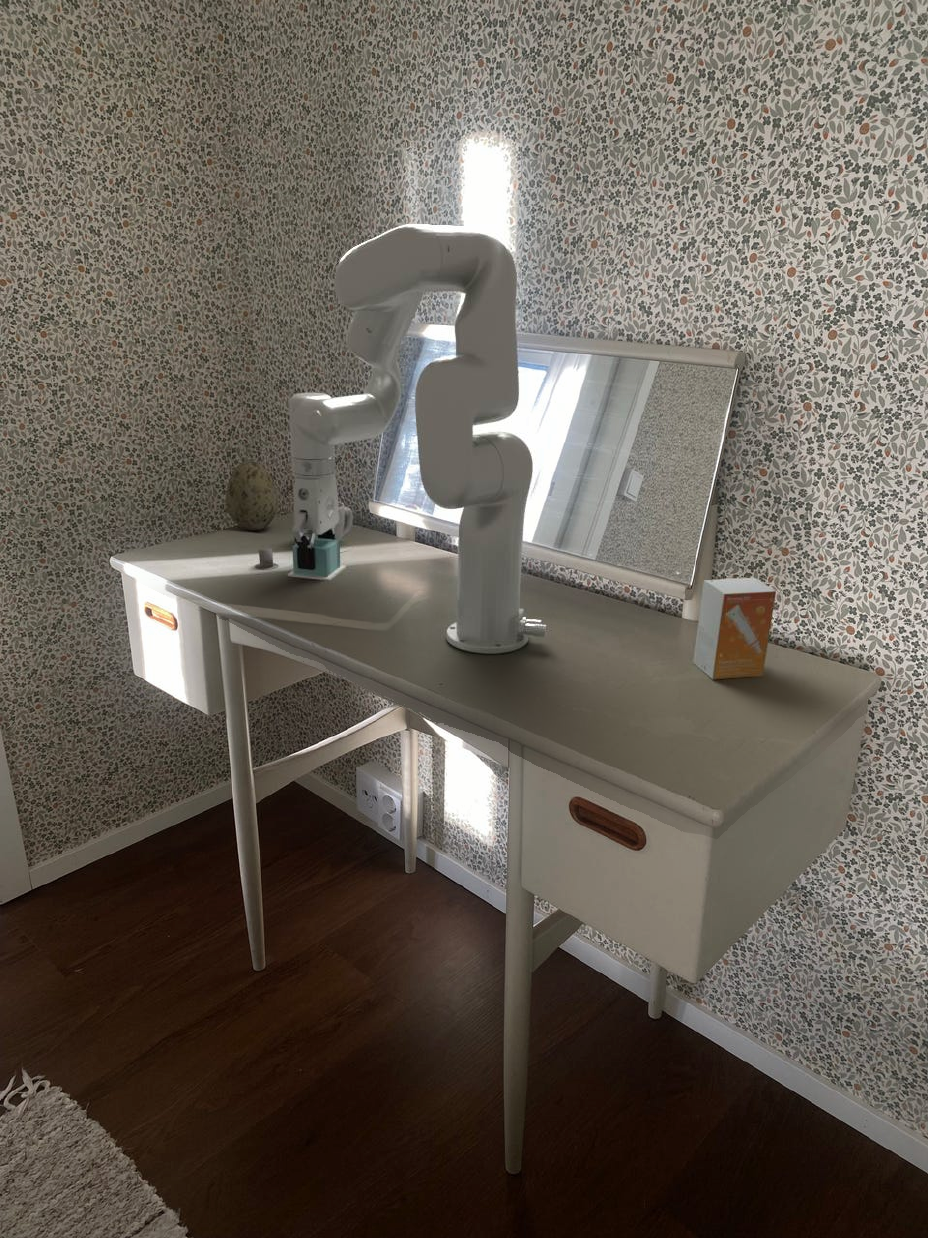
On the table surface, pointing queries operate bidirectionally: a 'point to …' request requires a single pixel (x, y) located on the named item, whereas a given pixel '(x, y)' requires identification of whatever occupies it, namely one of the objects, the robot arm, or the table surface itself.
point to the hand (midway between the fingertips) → (317, 561)
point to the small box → (734, 627)
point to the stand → (266, 560)
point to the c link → (321, 558)
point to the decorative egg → (251, 496)
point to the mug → (341, 522)
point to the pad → (319, 576)
